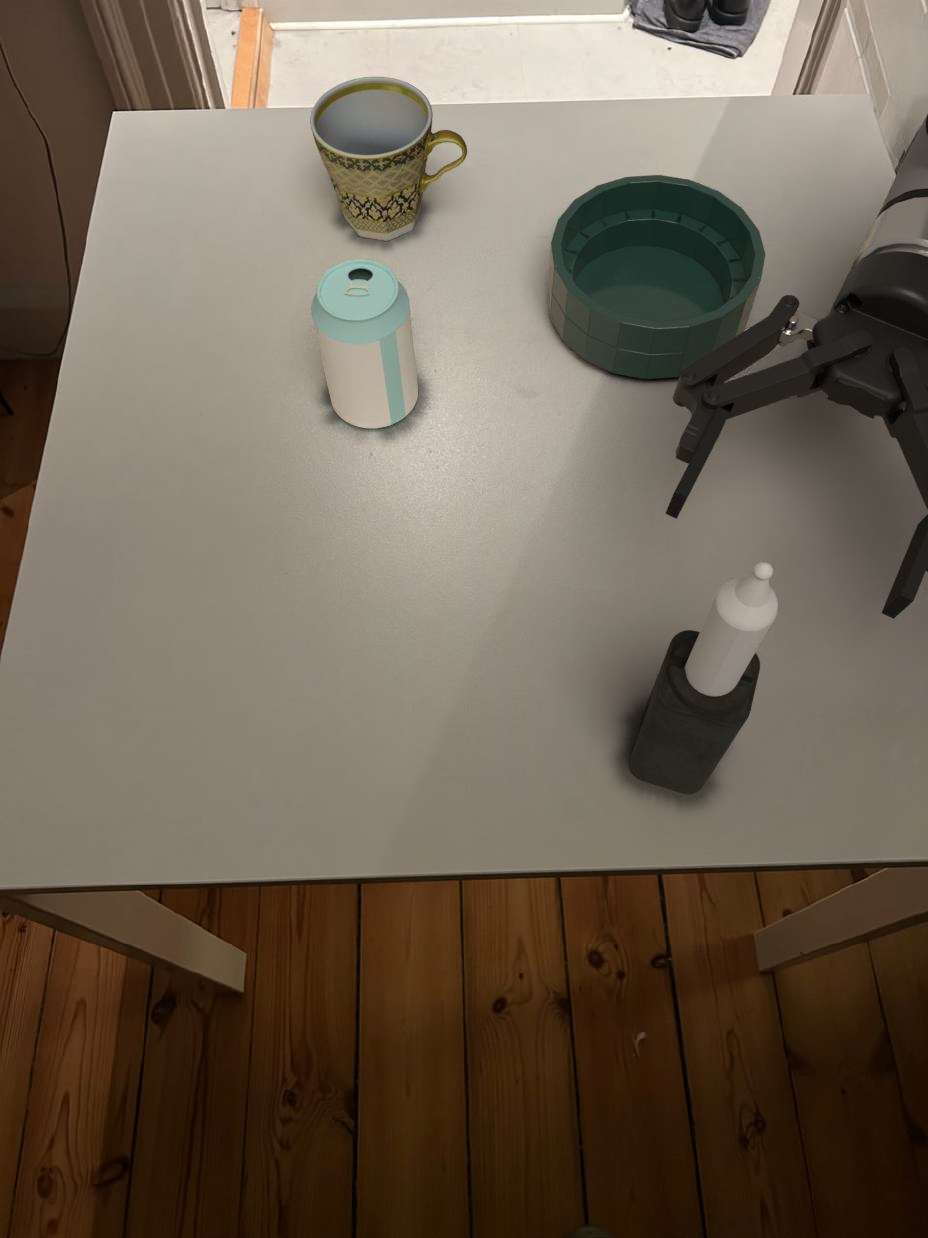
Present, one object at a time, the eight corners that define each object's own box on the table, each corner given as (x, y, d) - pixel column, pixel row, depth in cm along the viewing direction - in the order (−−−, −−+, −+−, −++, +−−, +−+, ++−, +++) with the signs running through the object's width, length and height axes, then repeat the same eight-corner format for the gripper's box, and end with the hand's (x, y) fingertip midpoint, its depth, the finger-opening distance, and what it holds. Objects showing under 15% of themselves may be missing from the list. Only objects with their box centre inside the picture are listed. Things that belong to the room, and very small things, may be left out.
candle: (700, 799, 65) (813, 631, 42) (624, 775, 65) (696, 599, 43) (717, 729, 67) (833, 534, 44) (643, 707, 68) (720, 505, 45)
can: (315, 390, 81) (289, 278, 70) (389, 351, 82) (374, 237, 72) (360, 447, 78) (339, 341, 67) (435, 407, 80) (426, 296, 69)
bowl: (777, 283, 85) (799, 222, 79) (689, 416, 79) (705, 360, 73) (607, 212, 89) (615, 149, 83) (510, 332, 83) (512, 273, 77)
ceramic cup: (313, 245, 88) (293, 147, 79) (346, 169, 92) (330, 68, 83) (455, 268, 86) (451, 170, 77) (481, 190, 91) (480, 88, 82)
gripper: (1062, 402, 65) (963, 673, 58) (712, 259, 69) (581, 495, 63) (1135, 330, 58) (1031, 628, 51) (740, 175, 62) (596, 431, 56)
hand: (783, 556), depth 57 cm, fingers open, 13 cm apart
